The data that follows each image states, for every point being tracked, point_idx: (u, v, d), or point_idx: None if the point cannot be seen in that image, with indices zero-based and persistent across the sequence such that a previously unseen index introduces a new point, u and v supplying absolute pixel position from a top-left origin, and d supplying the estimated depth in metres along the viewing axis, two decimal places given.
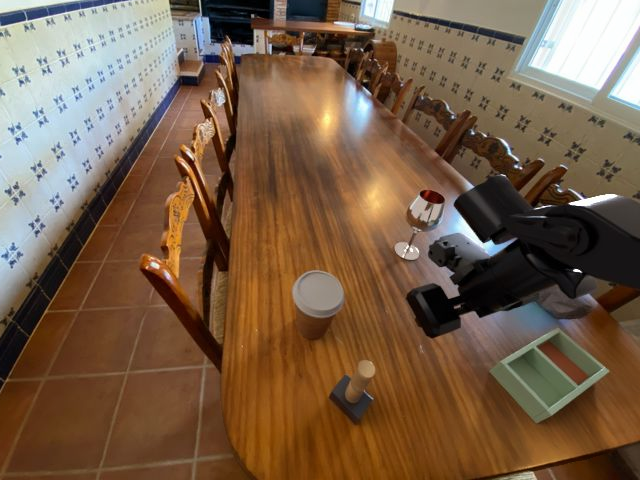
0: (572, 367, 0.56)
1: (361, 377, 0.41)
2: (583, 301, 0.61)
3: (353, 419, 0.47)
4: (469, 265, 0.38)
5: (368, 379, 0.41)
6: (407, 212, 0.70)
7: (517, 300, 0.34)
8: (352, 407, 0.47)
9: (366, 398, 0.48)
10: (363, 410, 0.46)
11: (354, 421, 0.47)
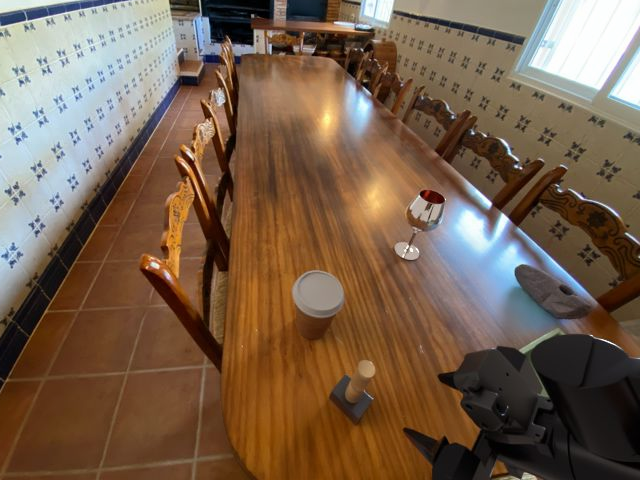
0: None
1: (361, 377, 0.41)
2: (583, 301, 0.61)
3: (353, 419, 0.47)
4: (527, 438, 0.26)
5: (368, 379, 0.41)
6: (407, 212, 0.70)
7: None
8: (352, 407, 0.47)
9: (366, 398, 0.48)
10: (363, 410, 0.46)
11: (354, 421, 0.47)
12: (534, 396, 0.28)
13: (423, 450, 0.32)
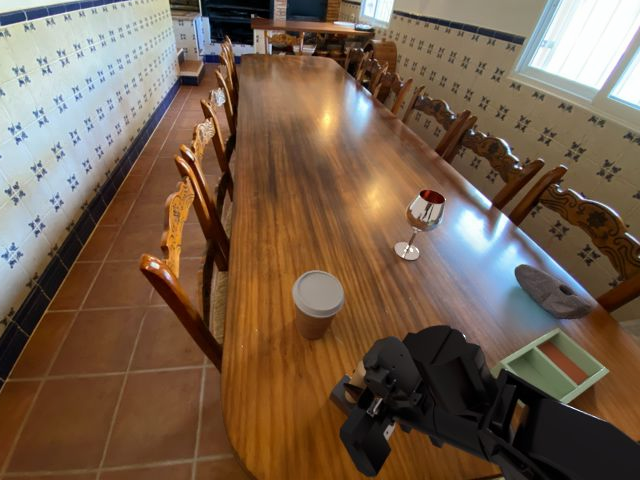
0: (572, 367, 0.56)
1: (361, 377, 0.41)
2: (583, 301, 0.61)
3: None
4: (408, 402, 0.34)
5: None
6: (407, 212, 0.70)
7: None
8: (352, 407, 0.47)
9: None
10: None
11: None
12: None
13: (355, 397, 0.42)
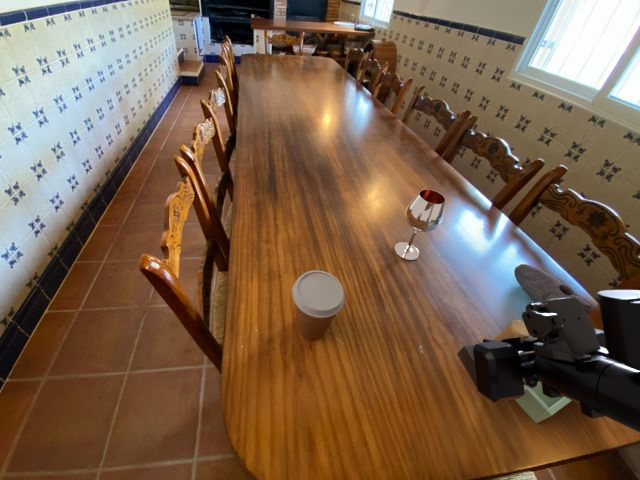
0: None
1: (512, 332, 0.40)
2: (583, 301, 0.61)
3: None
4: (569, 355, 0.32)
5: None
6: (407, 212, 0.70)
7: (604, 415, 0.31)
8: None
9: None
10: None
11: None
12: (597, 344, 0.33)
13: None
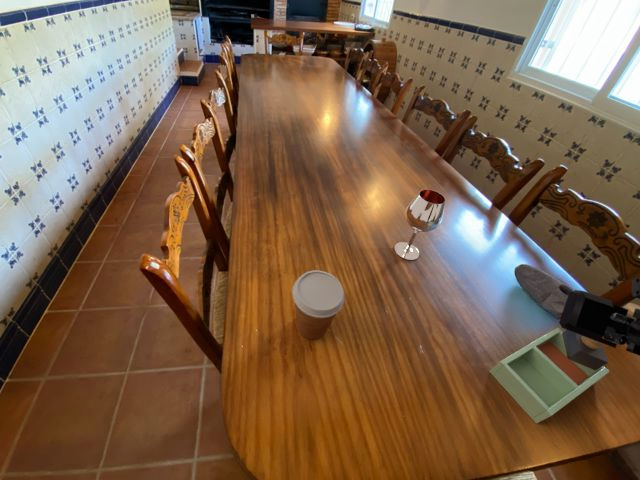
0: (572, 367, 0.56)
1: None
2: None
3: (571, 352, 0.51)
4: None
5: (630, 315, 0.44)
6: (407, 212, 0.70)
7: None
8: (581, 343, 0.50)
9: (602, 356, 0.49)
10: (589, 354, 0.49)
11: (570, 354, 0.51)
12: None
13: None
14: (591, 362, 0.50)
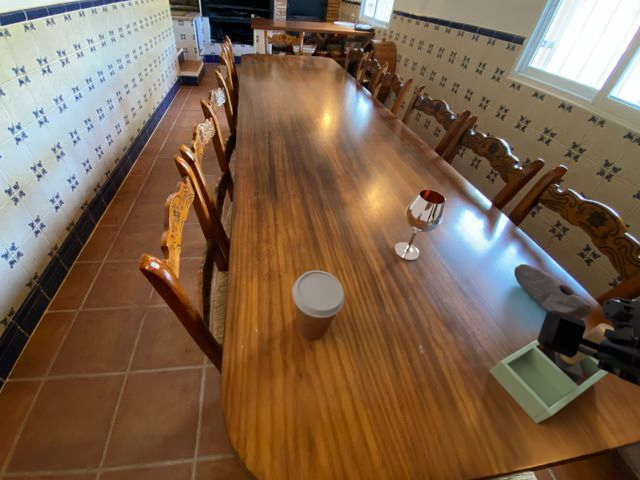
0: None
1: (596, 330, 0.49)
2: (583, 301, 0.61)
3: None
4: (629, 336, 0.41)
5: (601, 335, 0.48)
6: (407, 212, 0.70)
7: (637, 384, 0.39)
8: (559, 359, 0.54)
9: (577, 371, 0.53)
10: (566, 369, 0.53)
11: None
12: None
13: None
14: (568, 376, 0.53)
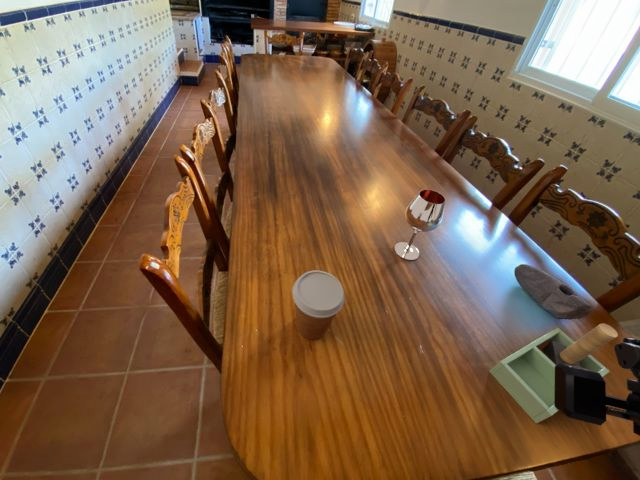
0: None
1: (596, 330, 0.49)
2: (583, 301, 0.61)
3: None
4: None
5: (601, 335, 0.48)
6: (407, 212, 0.70)
7: None
8: (559, 359, 0.54)
9: None
10: None
11: None
12: None
13: None
14: None
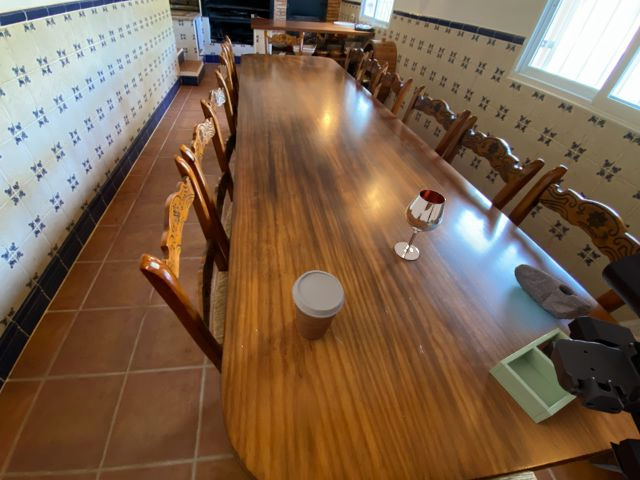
0: None
1: None
2: (583, 301, 0.61)
3: None
4: None
5: None
6: (407, 212, 0.70)
7: None
8: None
9: None
10: None
11: None
12: (619, 351, 0.32)
13: (618, 469, 0.32)
14: None
